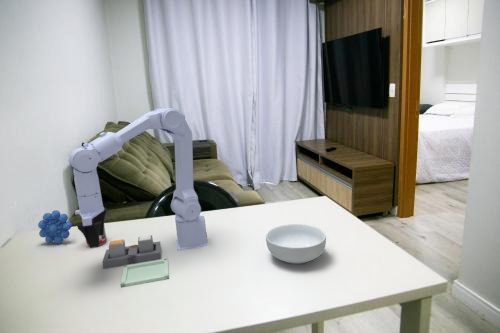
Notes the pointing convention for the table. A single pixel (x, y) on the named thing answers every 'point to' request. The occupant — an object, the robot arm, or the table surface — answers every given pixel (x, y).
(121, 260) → the grey double window frame
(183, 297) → the table surface
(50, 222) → the blue lumpy cluster
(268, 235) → the cereal bowl
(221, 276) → the table surface
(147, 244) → the twin plug
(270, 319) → the table surface
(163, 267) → the tray
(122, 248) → the plug
